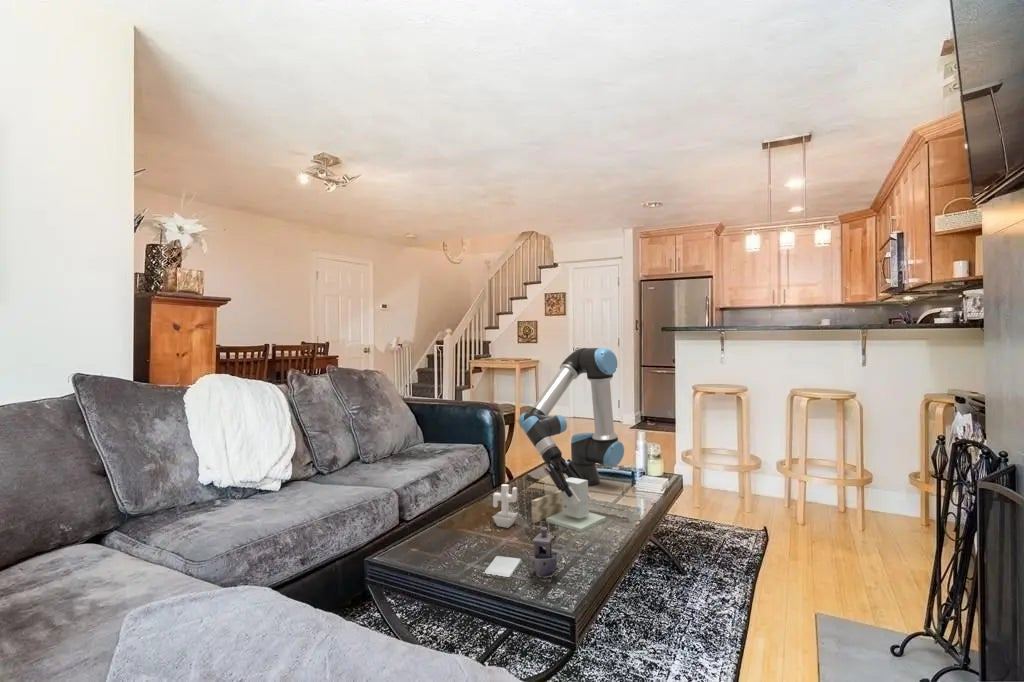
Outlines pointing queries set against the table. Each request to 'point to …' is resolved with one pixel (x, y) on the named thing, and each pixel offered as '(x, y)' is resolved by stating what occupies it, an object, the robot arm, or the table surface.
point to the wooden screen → (546, 506)
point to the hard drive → (503, 566)
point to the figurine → (505, 506)
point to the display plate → (576, 521)
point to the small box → (582, 493)
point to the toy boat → (544, 555)
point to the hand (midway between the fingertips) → (583, 501)
